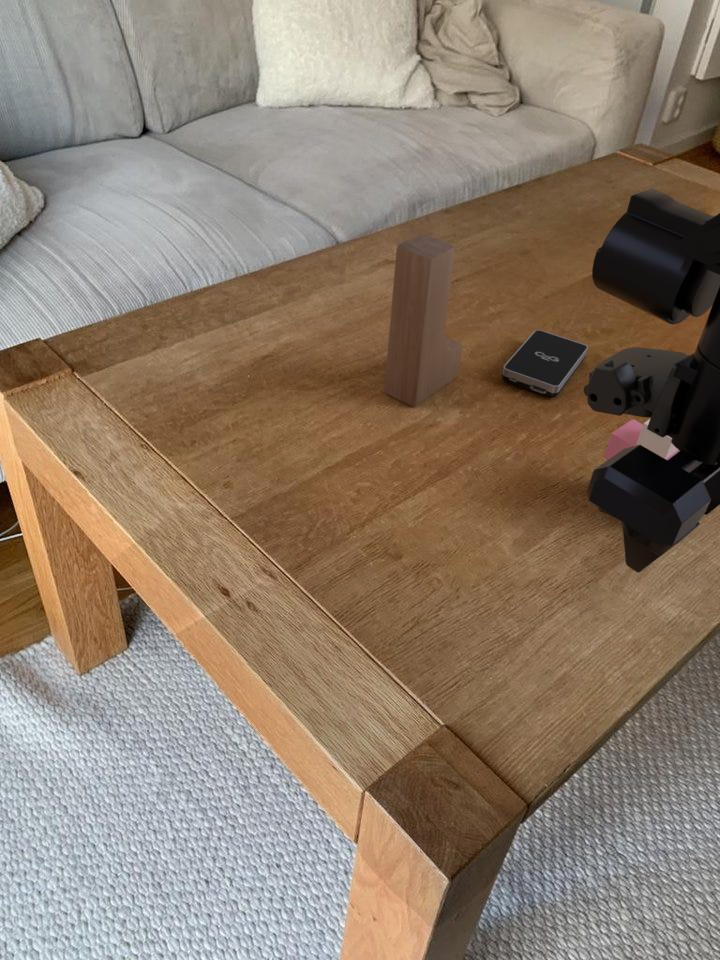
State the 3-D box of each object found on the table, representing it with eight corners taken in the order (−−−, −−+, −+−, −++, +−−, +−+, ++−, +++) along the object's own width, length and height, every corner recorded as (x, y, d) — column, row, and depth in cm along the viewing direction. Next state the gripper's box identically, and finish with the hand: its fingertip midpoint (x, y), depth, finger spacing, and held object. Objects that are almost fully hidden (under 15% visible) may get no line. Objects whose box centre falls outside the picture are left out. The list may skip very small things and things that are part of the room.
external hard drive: (499, 382, 96) (501, 368, 95) (533, 342, 104) (536, 328, 102) (554, 402, 94) (558, 387, 92) (586, 359, 101) (589, 345, 100)
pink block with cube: (687, 479, 77) (707, 433, 73) (666, 495, 75) (686, 448, 71) (624, 442, 80) (640, 397, 77) (603, 457, 78) (618, 411, 75)
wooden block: (428, 362, 99) (446, 218, 87) (459, 376, 97) (482, 231, 85) (382, 393, 93) (395, 244, 82) (414, 409, 91) (431, 259, 80)
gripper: (705, 264, 59) (644, 435, 69) (545, 349, 49) (501, 535, 59) (860, 328, 53) (768, 505, 63) (714, 440, 43) (633, 629, 53)
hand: (668, 538), depth 60 cm, fingers open, 9 cm apart
